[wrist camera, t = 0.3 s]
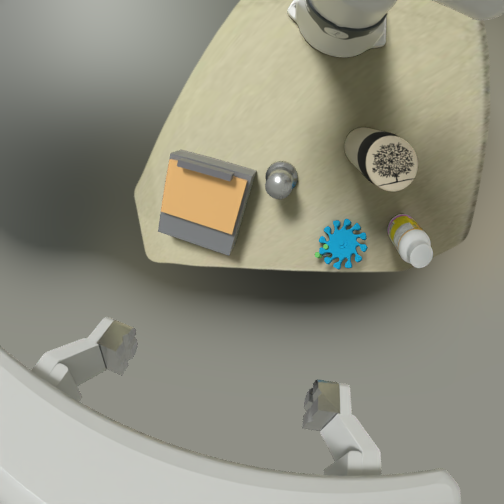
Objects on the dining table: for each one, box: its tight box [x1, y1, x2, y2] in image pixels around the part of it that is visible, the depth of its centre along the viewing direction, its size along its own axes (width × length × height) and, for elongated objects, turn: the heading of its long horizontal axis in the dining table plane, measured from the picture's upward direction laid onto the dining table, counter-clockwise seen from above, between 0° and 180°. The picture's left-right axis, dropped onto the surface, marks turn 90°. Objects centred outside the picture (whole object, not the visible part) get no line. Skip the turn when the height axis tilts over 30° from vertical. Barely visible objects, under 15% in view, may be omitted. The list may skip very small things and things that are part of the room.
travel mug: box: [344, 127, 418, 192], centre depth 39 cm, size 8×8×18 cm
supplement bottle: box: [387, 214, 433, 268], centre depth 47 cm, size 7×7×13 cm
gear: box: [315, 219, 367, 269], centre depth 55 cm, size 11×6×10 cm
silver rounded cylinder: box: [265, 161, 297, 199], centre depth 49 cm, size 6×6×8 cm
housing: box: [158, 150, 256, 256], centre depth 55 cm, size 17×16×5 cm
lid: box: [161, 158, 248, 235], centre depth 50 cm, size 12×15×3 cm
